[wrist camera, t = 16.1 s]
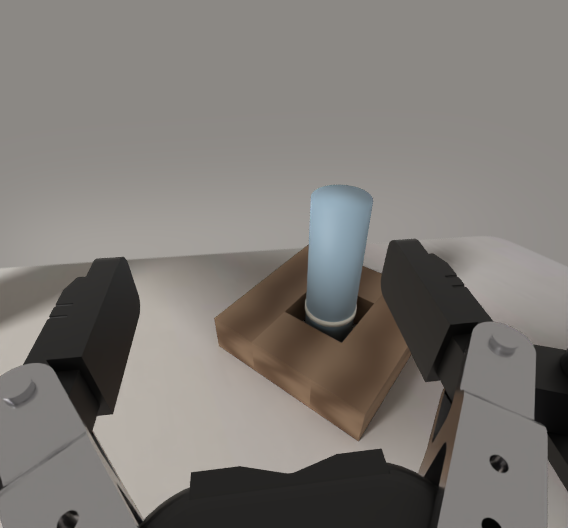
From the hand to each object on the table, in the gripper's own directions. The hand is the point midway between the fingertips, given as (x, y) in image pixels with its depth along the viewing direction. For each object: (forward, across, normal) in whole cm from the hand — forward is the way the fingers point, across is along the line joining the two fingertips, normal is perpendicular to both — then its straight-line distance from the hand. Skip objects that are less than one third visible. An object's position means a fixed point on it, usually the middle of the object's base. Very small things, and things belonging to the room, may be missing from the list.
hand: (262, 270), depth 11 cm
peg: (+15, -7, +22) cm, 28 cm away
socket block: (+16, -7, +22) cm, 28 cm away
